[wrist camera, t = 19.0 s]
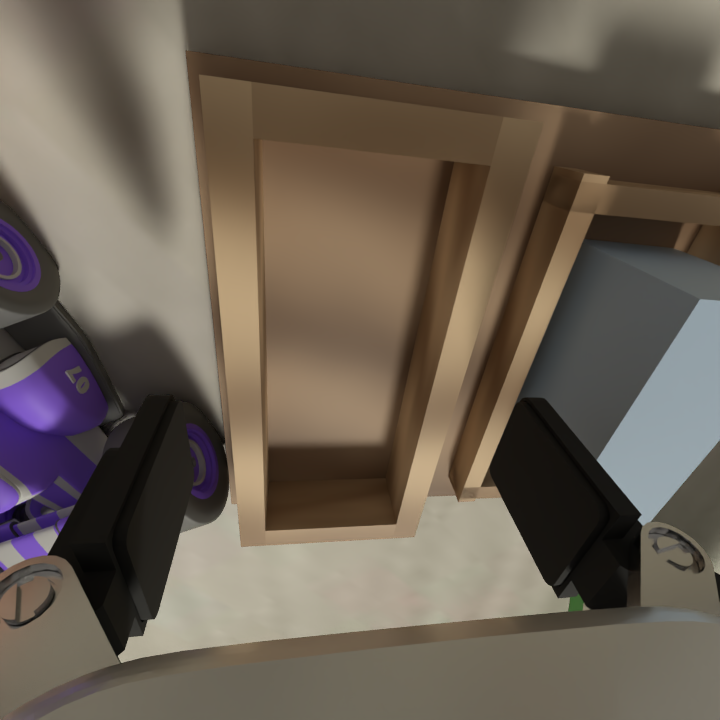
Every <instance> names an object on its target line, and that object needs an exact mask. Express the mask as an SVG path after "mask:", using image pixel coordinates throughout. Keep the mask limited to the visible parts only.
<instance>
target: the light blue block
mask: <svg viewBox="0 0 720 720" xmlns="http://www.w3.org/2000/svg"><path fill="white" fill-rule="evenodd" d="M525 397H540V398H545V399H546V400H547V401H548V402H549V404H550V405H551V406H552V407H553V408H554V410H555V411H556V412H557V413H558V414H559V416H560V417H561V418H562V419H563V420H564V422H565V423H566V424H567V425H568V426H569V428H570V429H571V430H572V431H573V432H574V434H575V435H576V436H577V437H578V438H579V440H580V441H581V442H582V443H583V444H584V446H585V447H586V448H587V449H588V450H589V452H590V453H591V454H592V455H593V457H594V458H595V459H596V460H597V461H598V463H599V464H600V465H601V466H602V467H603V469H604V470H605V471H606V472H607V473H608V475H609V476H610V477H611V478H612V479H613V481H614V482H615V483H616V484H617V485H618V487H619V488H620V489H621V490H622V491H623V493H624V494H625V495H626V496H627V497H628V499H629V500H630V501H631V502H632V503H633V505H634V506H635V507H636V508H637V509H638V511H639V512H640V513H641V514H642V515H641V516H640V518H639V519H638V521H639V522H640V523H641V524H642V526H643V525H645V524H646V523H648V522H651V520H652V519H653V518H654V517H655V516H656V515H657V513H658V512H659V511H660V510H661V509H662V508H663V506H664V505H665V504H666V503H667V502H668V500H669V499H670V498H671V497H672V496H673V495H674V493H675V492H676V491H677V490H678V489H679V487H680V486H681V485H682V484H683V483H684V482H685V480H686V479H687V478H688V477H689V476H690V475H691V473H692V472H693V471H694V470H695V469H696V467H697V466H698V465H699V464H700V463H701V462H702V460H703V459H704V458H705V457H706V456H707V455H708V453H709V452H710V451H711V450H712V449H713V447H714V446H715V445H716V444H717V443H718V442H719V440H720V266H718V265H716V264H713V263H711V262H708V261H706V260H703V259H700V258H698V257H695V256H693V255H690V254H688V253H685V252H682V251H680V250H677V249H675V248H667V247H657V246H648V245H638V244H628V243H618V242H609V241H599V240H589V239H584V240H583V242H582V245H581V247H580V250H579V252H578V254H577V257H576V259H575V262H574V264H573V266H572V269H571V271H570V274H569V276H568V278H567V281H566V283H565V286H564V288H563V290H562V293H561V295H560V297H559V300H558V302H557V305H556V307H555V309H554V312H553V314H552V317H551V319H550V321H549V324H548V326H547V329H546V331H545V333H544V336H543V338H542V341H541V343H540V345H539V348H538V350H537V353H536V355H535V357H534V360H533V362H532V365H531V367H530V369H529V372H528V374H527V377H526V379H525V381H524V384H523V386H522V389H521V391H520V393H519V396H518V398H517V401H516V403H518V402H520V400H521V399H522V398H525ZM516 403H515V404H516ZM514 406H515V405H514ZM511 413H512V412H511ZM509 418H510V417H509ZM506 425H507V424H506ZM501 437H502V436H501ZM496 449H497V448H496Z"/></svg>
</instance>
